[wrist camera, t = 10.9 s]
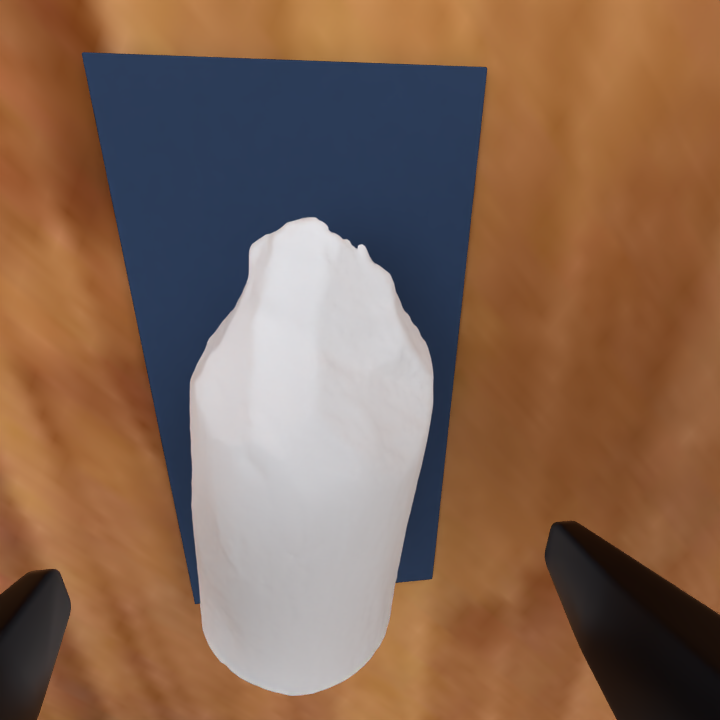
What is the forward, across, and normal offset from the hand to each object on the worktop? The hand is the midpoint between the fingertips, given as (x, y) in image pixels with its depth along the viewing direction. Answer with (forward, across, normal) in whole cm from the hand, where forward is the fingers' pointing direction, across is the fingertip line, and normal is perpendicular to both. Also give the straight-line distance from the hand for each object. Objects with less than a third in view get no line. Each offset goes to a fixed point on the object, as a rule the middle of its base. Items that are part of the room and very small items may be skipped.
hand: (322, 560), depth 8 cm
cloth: (+7, 0, 0) cm, 7 cm away
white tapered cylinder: (+7, 0, 0) cm, 7 cm away
